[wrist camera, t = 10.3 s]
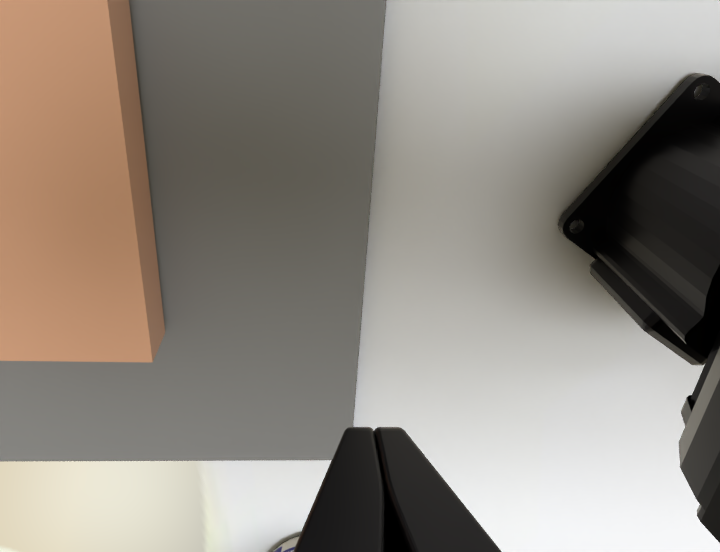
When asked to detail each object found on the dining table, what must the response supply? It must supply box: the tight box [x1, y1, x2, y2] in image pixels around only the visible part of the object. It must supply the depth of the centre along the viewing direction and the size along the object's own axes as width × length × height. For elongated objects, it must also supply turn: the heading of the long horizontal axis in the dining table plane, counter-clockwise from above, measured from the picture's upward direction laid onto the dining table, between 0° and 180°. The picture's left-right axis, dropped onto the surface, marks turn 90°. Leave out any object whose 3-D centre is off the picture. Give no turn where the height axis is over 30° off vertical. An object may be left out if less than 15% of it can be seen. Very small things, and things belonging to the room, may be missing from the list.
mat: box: [0, 0, 386, 461], centre depth 18 cm, size 15×24×1 cm, turn 176°
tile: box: [0, 0, 165, 362], centre depth 17 cm, size 2×11×8 cm
